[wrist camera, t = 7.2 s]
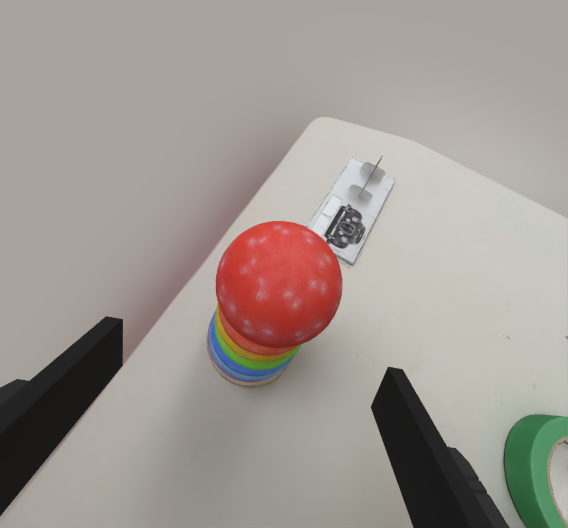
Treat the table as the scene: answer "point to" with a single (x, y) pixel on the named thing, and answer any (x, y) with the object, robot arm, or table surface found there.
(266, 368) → the stacking toy
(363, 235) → the car cutout
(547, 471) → the tape roll
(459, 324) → the table surface
